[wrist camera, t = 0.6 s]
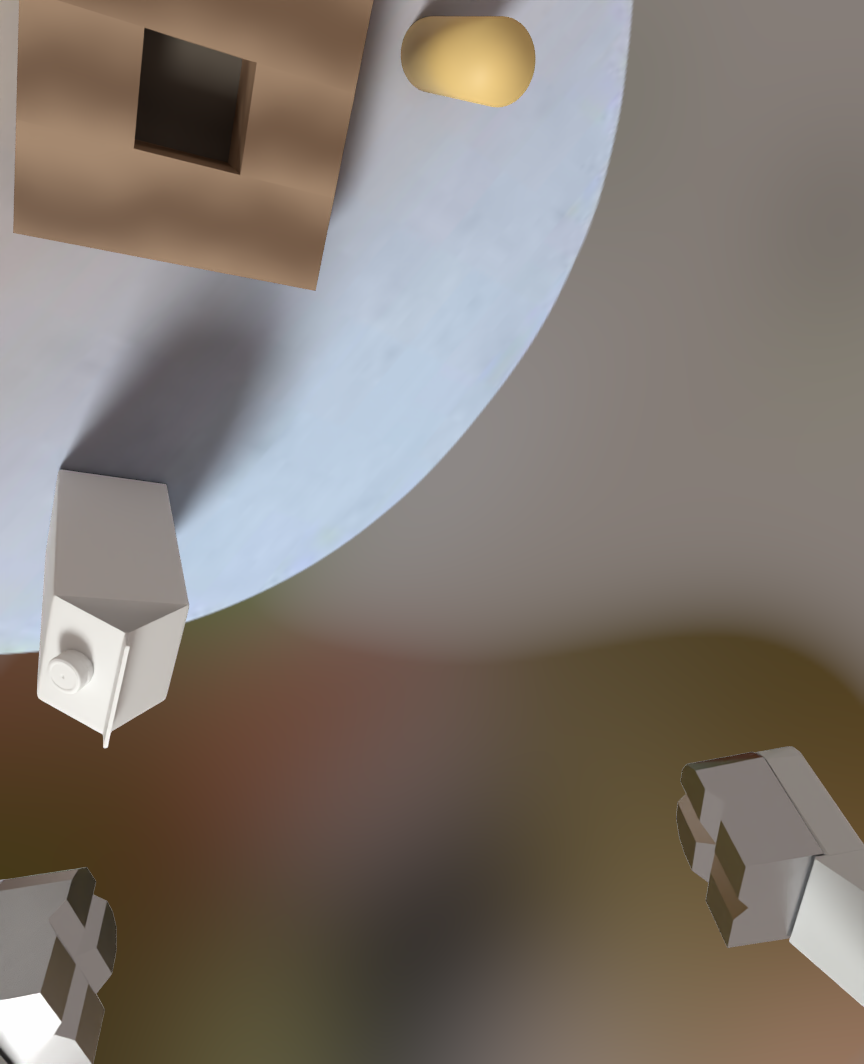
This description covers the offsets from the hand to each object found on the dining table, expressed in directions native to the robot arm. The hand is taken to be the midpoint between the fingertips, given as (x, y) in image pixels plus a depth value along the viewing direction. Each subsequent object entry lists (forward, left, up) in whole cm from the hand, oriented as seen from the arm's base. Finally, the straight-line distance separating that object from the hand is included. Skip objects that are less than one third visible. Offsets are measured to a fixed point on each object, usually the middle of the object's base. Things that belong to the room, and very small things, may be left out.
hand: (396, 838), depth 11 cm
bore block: (-6, +1, -46) cm, 47 cm away
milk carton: (+22, -1, -46) cm, 51 cm away
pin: (-12, +15, -46) cm, 50 cm away
